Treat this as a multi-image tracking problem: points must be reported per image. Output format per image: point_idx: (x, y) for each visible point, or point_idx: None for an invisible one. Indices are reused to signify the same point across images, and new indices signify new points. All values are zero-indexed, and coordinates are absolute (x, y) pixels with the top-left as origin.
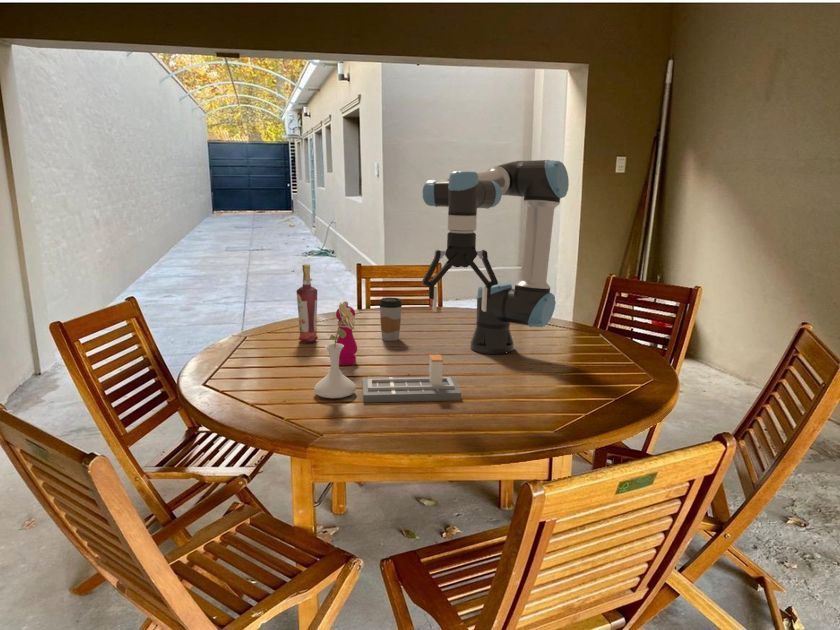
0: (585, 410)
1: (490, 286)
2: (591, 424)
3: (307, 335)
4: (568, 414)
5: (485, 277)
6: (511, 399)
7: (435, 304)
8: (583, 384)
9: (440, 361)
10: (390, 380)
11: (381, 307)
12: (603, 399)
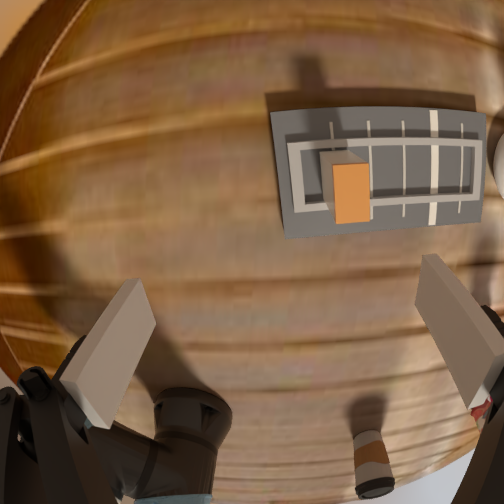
0: (31, 100)
1: (29, 373)
2: (36, 39)
3: (489, 405)
4: (57, 71)
5: (38, 450)
6: (149, 128)
7: (447, 276)
8: (31, 236)
9: (339, 163)
10: (437, 194)
11: (392, 476)
12: (7, 163)
